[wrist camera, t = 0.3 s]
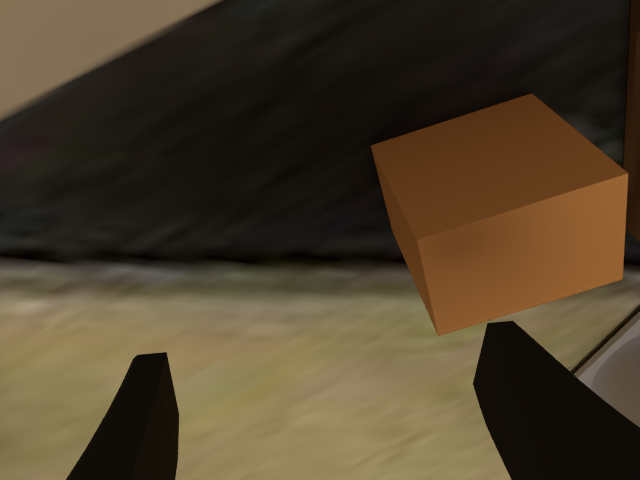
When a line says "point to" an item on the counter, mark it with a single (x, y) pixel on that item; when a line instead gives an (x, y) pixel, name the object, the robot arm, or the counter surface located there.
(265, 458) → the counter surface
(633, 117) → the well
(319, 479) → the counter surface
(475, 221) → the tall wooden block
